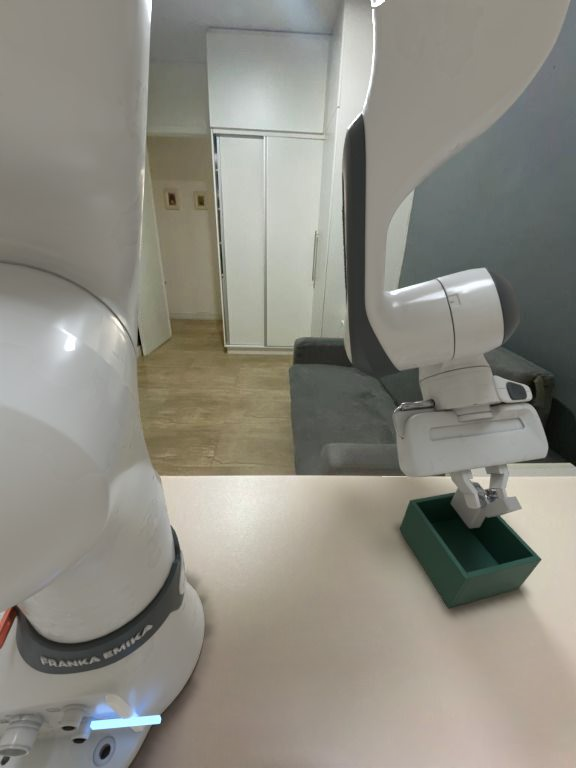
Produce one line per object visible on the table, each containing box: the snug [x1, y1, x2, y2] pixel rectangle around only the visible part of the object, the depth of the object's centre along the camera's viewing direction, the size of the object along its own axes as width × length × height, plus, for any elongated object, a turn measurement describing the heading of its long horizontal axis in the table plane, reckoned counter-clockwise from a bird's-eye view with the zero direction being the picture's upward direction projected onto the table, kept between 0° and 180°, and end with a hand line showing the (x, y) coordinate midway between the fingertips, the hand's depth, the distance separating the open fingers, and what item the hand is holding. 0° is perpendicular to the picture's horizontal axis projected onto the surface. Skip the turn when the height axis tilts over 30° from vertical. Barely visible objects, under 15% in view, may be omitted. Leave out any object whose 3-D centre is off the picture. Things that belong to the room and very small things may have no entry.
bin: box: [399, 491, 543, 609], centre depth 43 cm, size 11×11×6 cm
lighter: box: [451, 479, 523, 529], centre depth 39 cm, size 7×2×8 cm, turn 10°
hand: (488, 505), depth 38 cm, fingers closed on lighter, 2 cm apart
